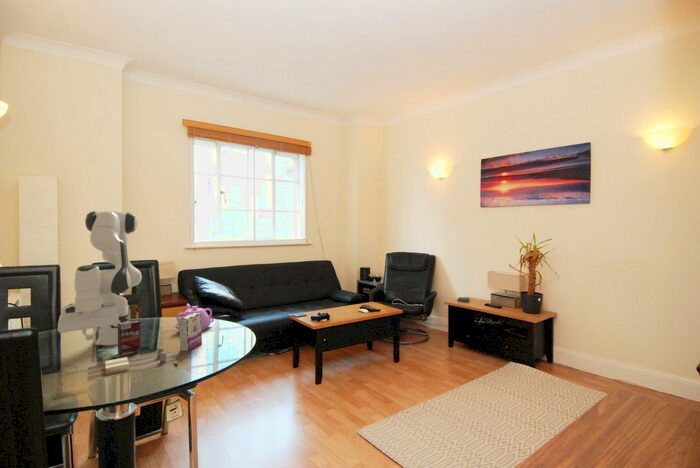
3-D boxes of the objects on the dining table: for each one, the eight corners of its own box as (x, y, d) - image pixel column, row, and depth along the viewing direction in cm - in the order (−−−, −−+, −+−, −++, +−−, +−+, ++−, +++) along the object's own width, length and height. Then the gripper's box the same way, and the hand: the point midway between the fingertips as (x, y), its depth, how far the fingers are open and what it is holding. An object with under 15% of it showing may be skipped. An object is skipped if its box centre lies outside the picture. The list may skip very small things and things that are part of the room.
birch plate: (105, 366, 155) (105, 361, 155) (127, 362, 159) (127, 356, 159) (106, 374, 147) (105, 368, 147) (129, 369, 151) (128, 363, 151)
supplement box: (120, 359, 168) (119, 325, 168) (117, 356, 171) (116, 323, 171) (141, 354, 174) (140, 321, 174) (138, 351, 178) (137, 319, 177)
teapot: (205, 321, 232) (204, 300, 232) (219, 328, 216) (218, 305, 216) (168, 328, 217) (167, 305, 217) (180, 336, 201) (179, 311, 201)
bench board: (88, 370, 155) (87, 358, 154) (170, 354, 173) (170, 342, 173) (87, 385, 140) (87, 371, 140) (177, 365, 158) (177, 353, 158)
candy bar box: (193, 343, 188) (192, 312, 188) (202, 344, 187) (201, 312, 187) (179, 351, 177) (178, 318, 177) (188, 351, 176) (187, 318, 176)
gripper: (118, 300, 156) (119, 332, 156) (57, 307, 144) (59, 342, 144) (119, 303, 151) (120, 336, 151) (56, 310, 139) (57, 346, 139)
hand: (90, 339), depth 147 cm, fingers closed
